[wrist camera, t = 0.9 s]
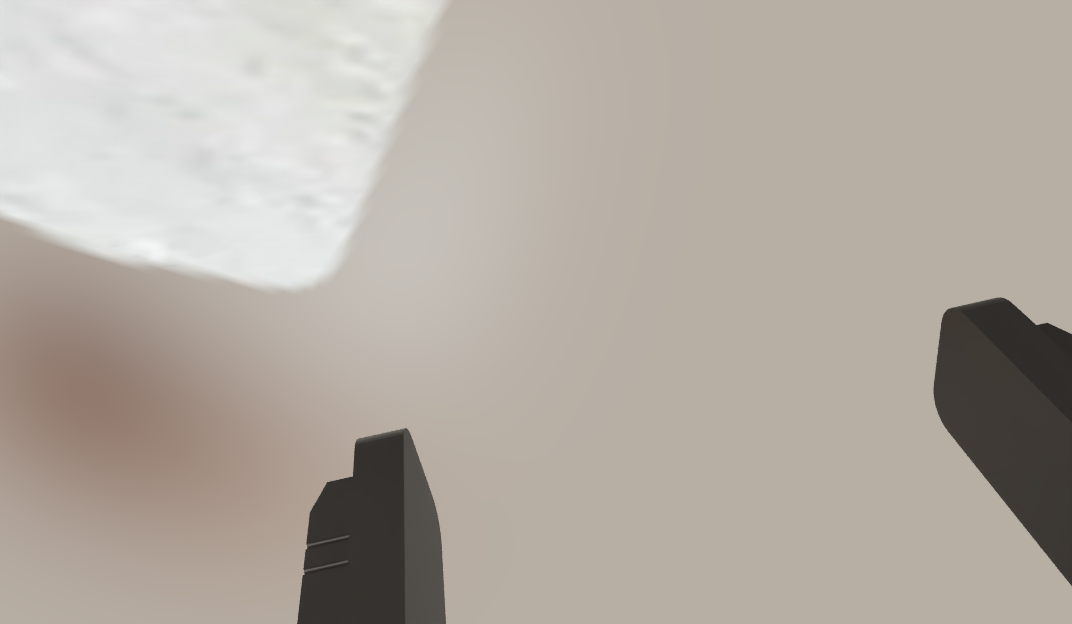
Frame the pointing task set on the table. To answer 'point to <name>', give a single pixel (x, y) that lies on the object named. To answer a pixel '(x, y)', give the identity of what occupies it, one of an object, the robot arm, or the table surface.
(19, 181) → the table surface
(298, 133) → the table surface
